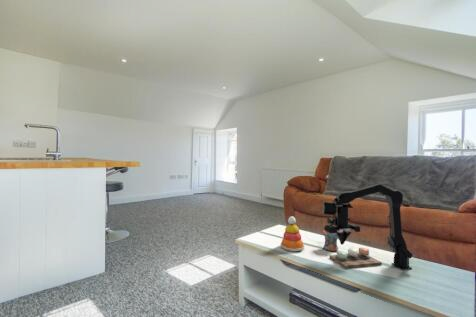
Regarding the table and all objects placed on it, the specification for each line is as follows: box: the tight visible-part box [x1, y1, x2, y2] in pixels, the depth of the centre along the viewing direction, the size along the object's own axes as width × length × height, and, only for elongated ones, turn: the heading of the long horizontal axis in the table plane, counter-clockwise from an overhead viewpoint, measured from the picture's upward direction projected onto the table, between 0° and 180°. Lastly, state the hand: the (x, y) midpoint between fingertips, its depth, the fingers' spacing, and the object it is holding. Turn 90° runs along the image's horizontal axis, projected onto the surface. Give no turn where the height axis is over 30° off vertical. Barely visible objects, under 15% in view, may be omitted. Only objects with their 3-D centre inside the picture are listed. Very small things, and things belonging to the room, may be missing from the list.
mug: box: [322, 229, 339, 252], centre depth 145 cm, size 12×9×11 cm
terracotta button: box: [358, 247, 370, 256], centre depth 130 cm, size 5×5×2 cm
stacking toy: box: [280, 215, 305, 252], centre depth 144 cm, size 14×14×20 cm
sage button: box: [336, 250, 348, 259], centre depth 126 cm, size 5×5×2 cm
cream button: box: [347, 247, 359, 256], centre depth 128 cm, size 5×5×2 cm
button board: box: [329, 252, 383, 270], centre depth 127 cm, size 22×13×2 cm, turn 104°
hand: (341, 244), depth 127 cm, fingers closed
